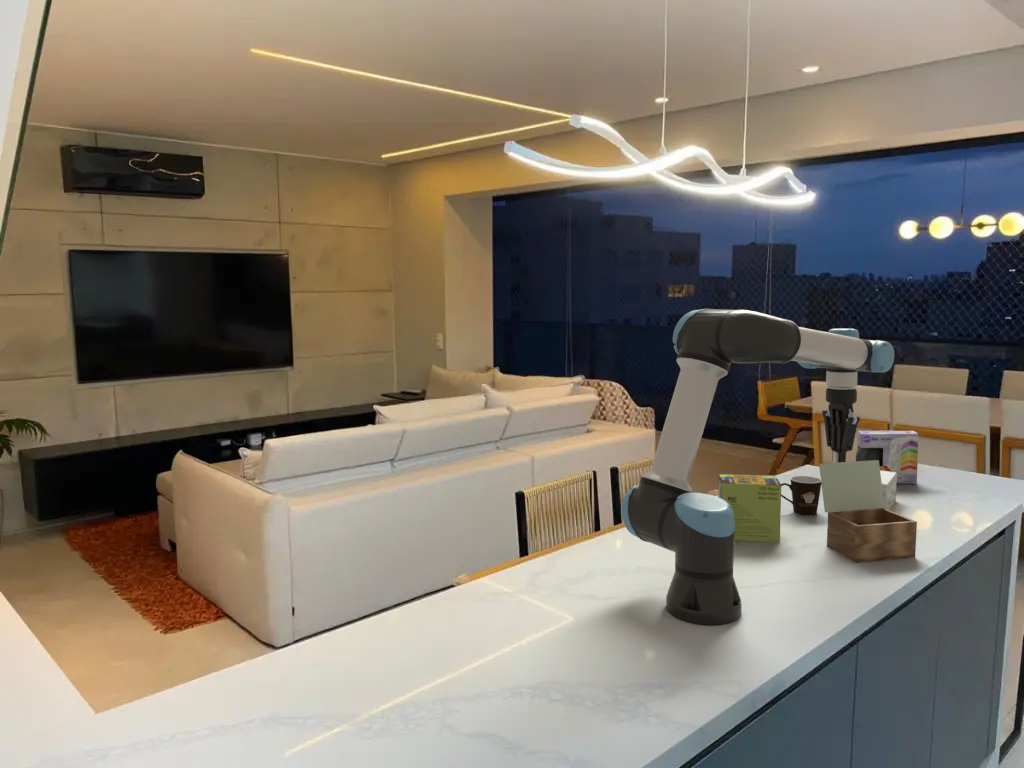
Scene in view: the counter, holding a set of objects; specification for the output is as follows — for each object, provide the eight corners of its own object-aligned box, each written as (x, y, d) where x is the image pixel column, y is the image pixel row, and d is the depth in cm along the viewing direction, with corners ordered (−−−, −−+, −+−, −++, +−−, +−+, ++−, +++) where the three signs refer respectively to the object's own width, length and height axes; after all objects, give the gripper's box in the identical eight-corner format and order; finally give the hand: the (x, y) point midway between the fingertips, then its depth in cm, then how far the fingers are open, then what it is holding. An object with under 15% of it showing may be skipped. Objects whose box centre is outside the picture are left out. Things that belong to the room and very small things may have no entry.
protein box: (780, 542, 195) (782, 484, 193) (719, 540, 198) (720, 482, 196) (775, 530, 205) (776, 475, 203) (717, 527, 208) (717, 473, 206)
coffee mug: (823, 510, 222) (824, 478, 220) (817, 518, 214) (818, 484, 213) (782, 505, 228) (783, 473, 227) (776, 512, 221) (776, 479, 219)
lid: (820, 463, 192) (818, 463, 193) (826, 512, 190) (824, 512, 191) (878, 460, 195) (876, 460, 196) (884, 507, 193) (882, 507, 194)
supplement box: (850, 495, 238) (851, 466, 237) (896, 501, 231) (897, 472, 230) (838, 508, 225) (839, 477, 224) (886, 515, 217) (887, 483, 216)
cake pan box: (856, 483, 252) (858, 432, 250) (852, 480, 257) (854, 429, 255) (917, 485, 249) (920, 433, 246) (912, 481, 254) (914, 430, 251)
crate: (856, 562, 179) (857, 526, 178) (826, 546, 191) (827, 512, 190) (915, 557, 182) (917, 521, 181) (882, 541, 194) (884, 508, 193)
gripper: (870, 389, 190) (866, 480, 193) (839, 384, 203) (836, 468, 205) (843, 391, 188) (840, 482, 191) (814, 385, 201) (811, 470, 204)
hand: (838, 475), depth 198 cm, fingers closed
